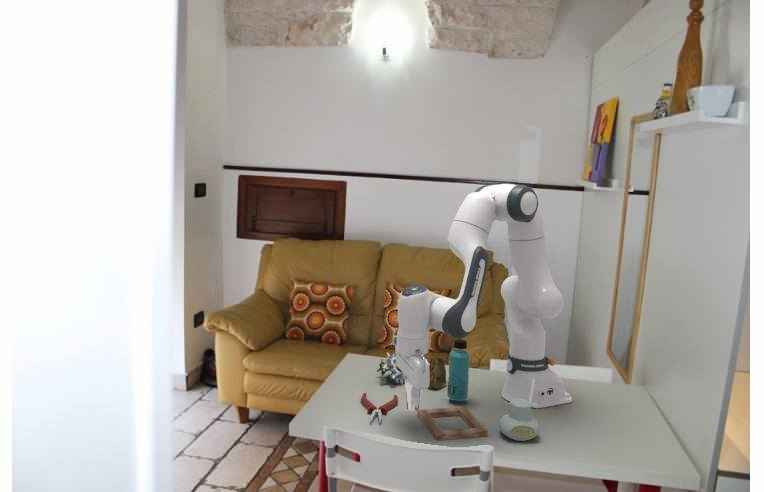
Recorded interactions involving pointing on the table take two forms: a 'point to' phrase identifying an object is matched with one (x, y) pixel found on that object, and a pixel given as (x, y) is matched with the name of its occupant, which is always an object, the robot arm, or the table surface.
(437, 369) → the decorative stone
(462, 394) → the beverage bottle
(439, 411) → the wooden frame
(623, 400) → the table surface
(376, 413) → the pliers
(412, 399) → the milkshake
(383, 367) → the passion flower
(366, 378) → the table surface
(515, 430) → the air freshener
